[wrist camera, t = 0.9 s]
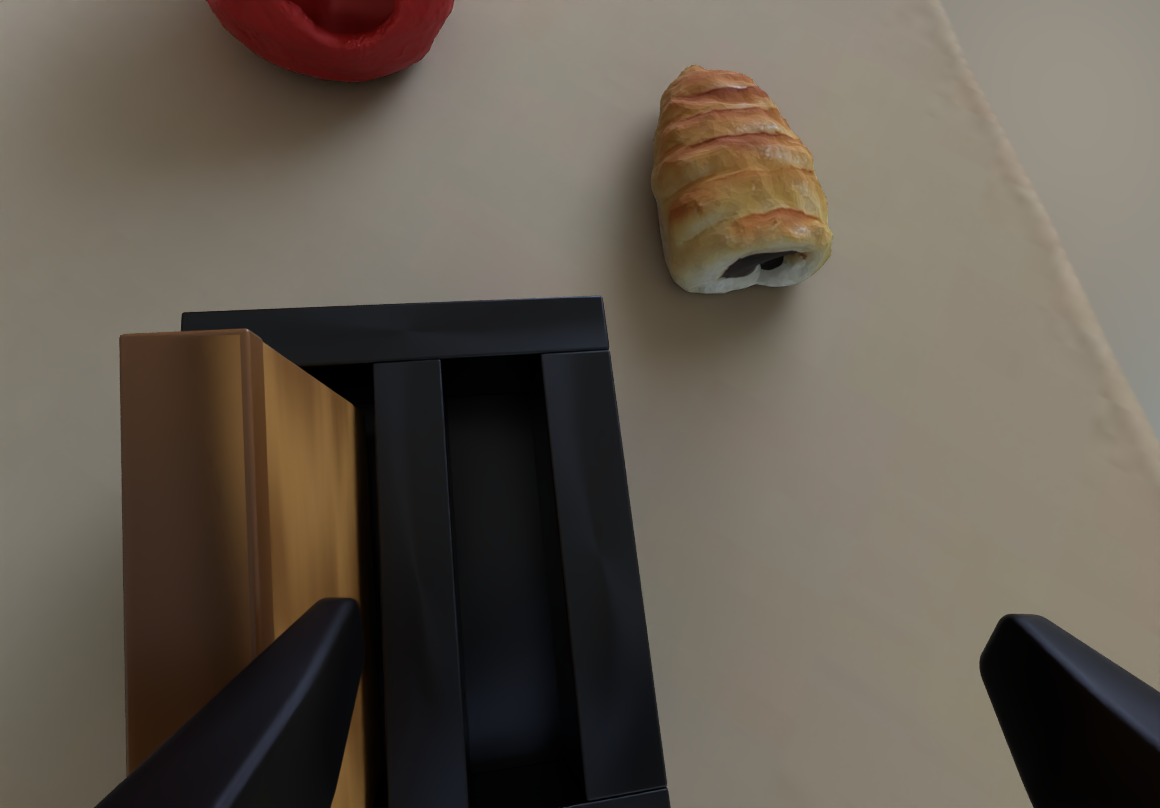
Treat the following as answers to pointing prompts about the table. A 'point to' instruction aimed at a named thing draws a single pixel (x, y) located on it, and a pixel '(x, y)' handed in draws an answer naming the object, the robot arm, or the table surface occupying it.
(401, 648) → the toaster
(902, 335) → the table surface
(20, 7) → the table surface
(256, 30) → the pomegranate
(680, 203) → the pastry
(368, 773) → the toast
